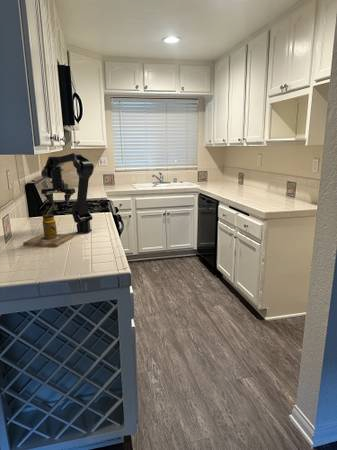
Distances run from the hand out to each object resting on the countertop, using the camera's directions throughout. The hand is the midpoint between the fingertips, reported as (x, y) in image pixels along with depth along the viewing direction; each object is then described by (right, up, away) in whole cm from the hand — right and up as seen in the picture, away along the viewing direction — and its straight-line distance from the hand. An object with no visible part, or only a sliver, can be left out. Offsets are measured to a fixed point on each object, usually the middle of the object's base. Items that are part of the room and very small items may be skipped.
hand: (59, 205), depth 181 cm
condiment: (+3, -18, -24) cm, 30 cm away
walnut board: (+3, -19, -24) cm, 31 cm away
